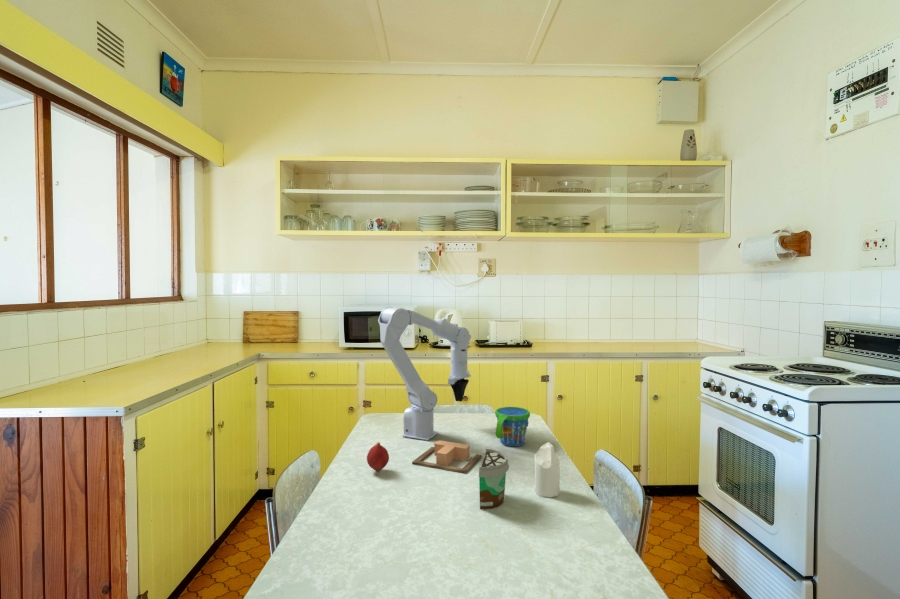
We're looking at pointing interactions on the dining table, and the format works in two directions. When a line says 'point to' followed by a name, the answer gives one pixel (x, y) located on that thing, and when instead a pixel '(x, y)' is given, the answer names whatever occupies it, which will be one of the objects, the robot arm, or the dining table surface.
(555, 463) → the white piece
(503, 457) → the food container
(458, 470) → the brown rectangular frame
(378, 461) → the onion
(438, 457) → the T block
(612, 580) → the dining table surface
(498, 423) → the snack cup
